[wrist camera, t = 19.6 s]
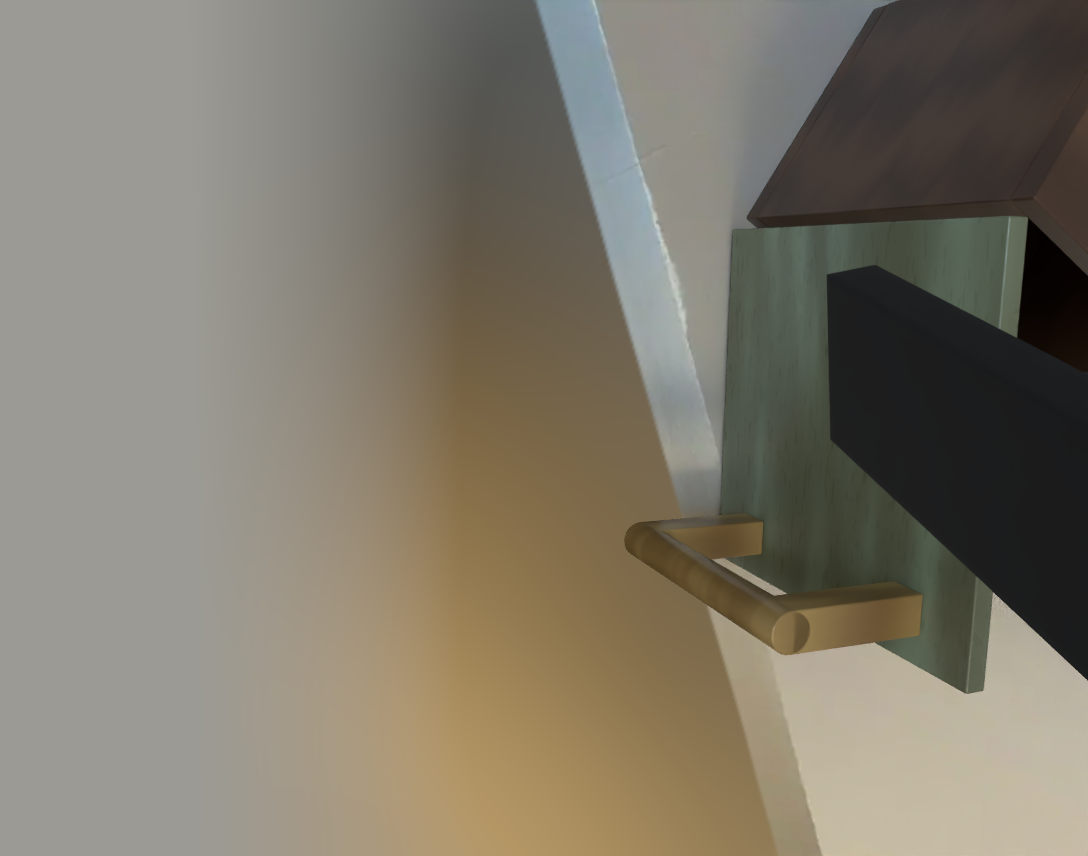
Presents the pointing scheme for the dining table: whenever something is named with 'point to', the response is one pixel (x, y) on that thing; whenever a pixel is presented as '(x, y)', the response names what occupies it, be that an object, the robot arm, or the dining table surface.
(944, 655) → the cupboard door
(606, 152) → the dining table surface
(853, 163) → the cupboard
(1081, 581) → the robot arm
